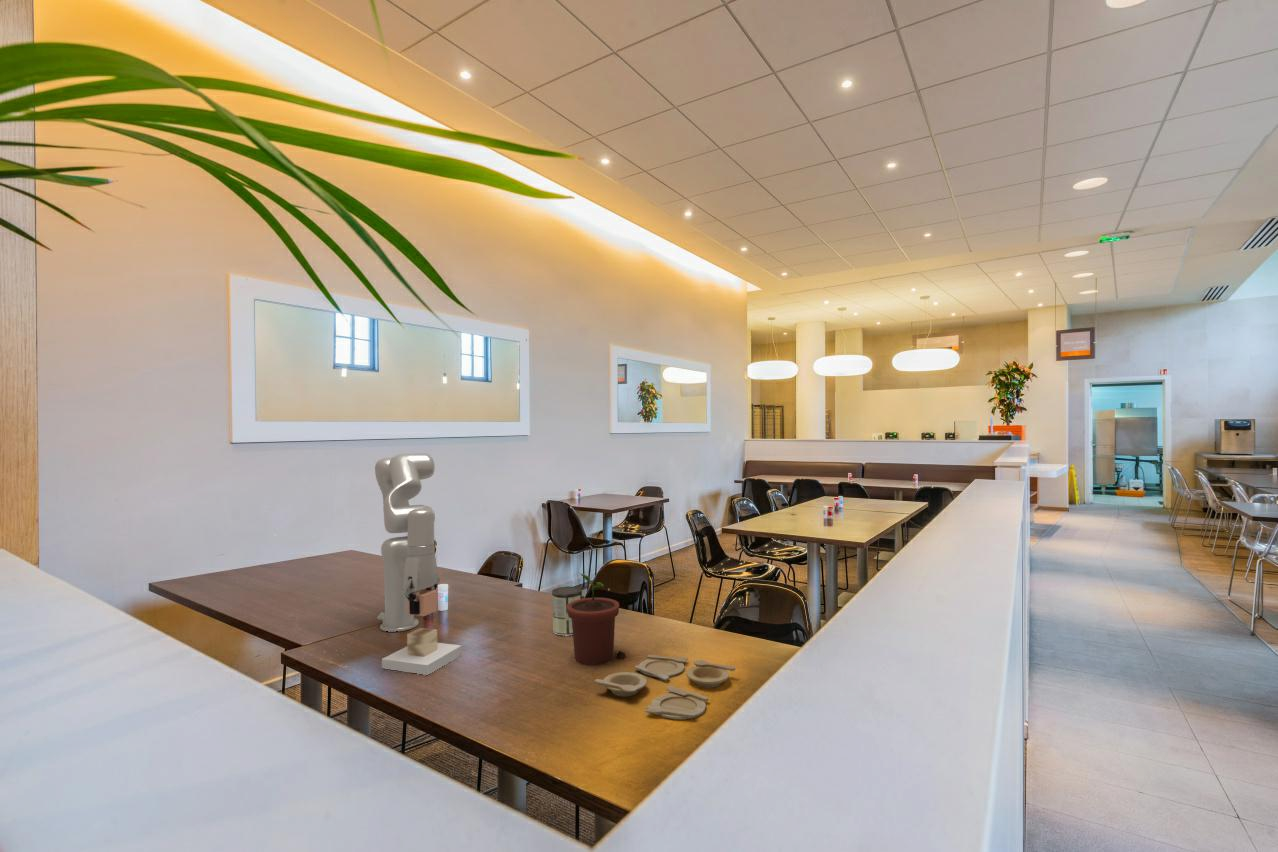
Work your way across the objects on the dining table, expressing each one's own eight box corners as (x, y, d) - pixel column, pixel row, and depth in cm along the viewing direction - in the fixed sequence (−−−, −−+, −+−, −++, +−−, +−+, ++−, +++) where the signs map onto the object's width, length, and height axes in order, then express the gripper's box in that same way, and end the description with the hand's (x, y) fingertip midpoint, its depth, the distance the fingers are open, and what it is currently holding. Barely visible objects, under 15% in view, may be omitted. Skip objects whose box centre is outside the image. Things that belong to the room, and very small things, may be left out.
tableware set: (687, 731, 138) (687, 713, 138) (584, 702, 153) (584, 686, 153) (745, 676, 168) (744, 661, 168) (654, 656, 183) (654, 643, 183)
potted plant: (552, 659, 181) (551, 576, 181) (597, 638, 198) (596, 562, 199) (599, 672, 171) (597, 584, 171) (642, 648, 188) (640, 568, 189)
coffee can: (562, 625, 212) (562, 585, 213) (588, 628, 208) (587, 587, 208) (546, 634, 203) (545, 592, 203) (572, 638, 199) (572, 595, 199)
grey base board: (381, 669, 175) (381, 659, 175) (418, 649, 191) (418, 640, 191) (427, 675, 170) (427, 665, 170) (461, 655, 185) (461, 645, 185)
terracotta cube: (407, 614, 178) (406, 594, 178) (420, 608, 184) (420, 589, 184) (424, 616, 176) (423, 595, 176) (437, 610, 182) (436, 590, 182)
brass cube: (407, 654, 179) (407, 634, 179) (421, 647, 184) (420, 627, 184) (424, 656, 177) (424, 636, 177) (437, 649, 182) (437, 629, 182)
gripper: (429, 544, 190) (430, 602, 190) (390, 555, 174) (391, 618, 173) (449, 545, 187) (450, 603, 187) (411, 557, 171) (413, 620, 171)
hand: (422, 610), depth 180 cm, fingers closed on terracotta cube, 6 cm apart
